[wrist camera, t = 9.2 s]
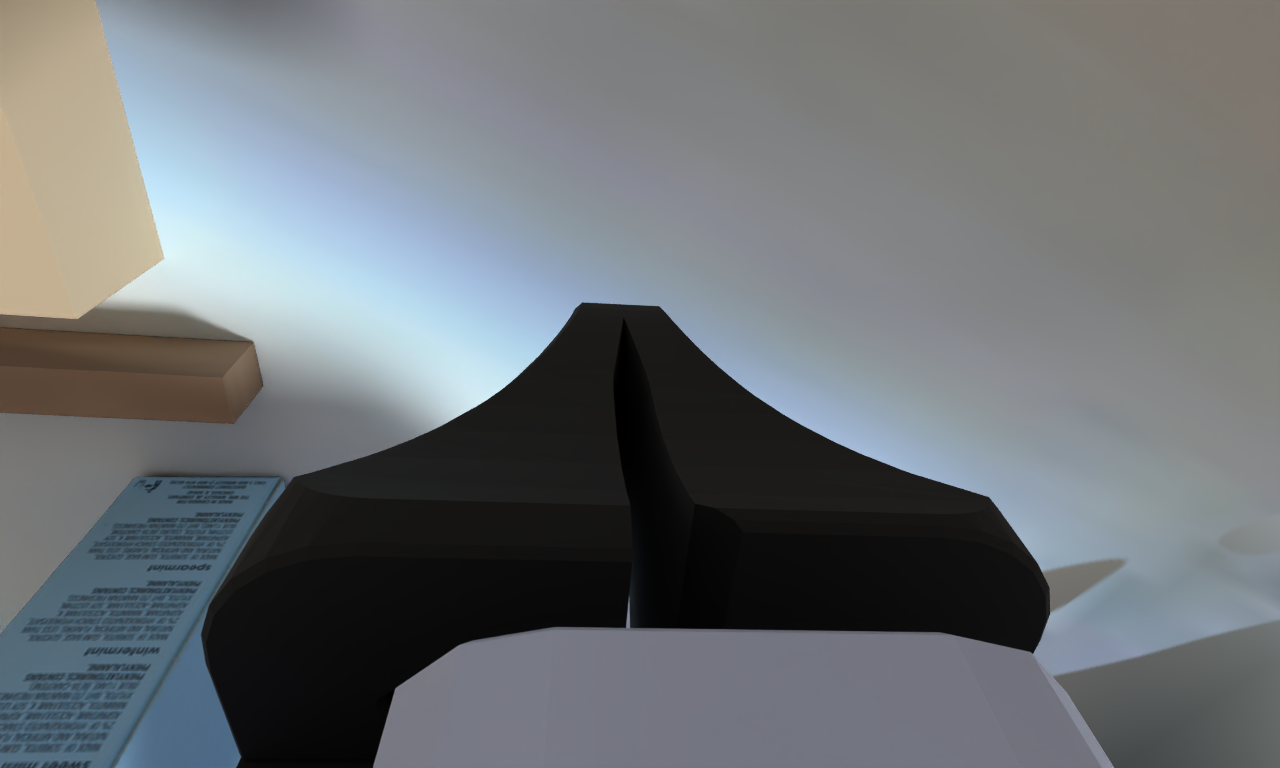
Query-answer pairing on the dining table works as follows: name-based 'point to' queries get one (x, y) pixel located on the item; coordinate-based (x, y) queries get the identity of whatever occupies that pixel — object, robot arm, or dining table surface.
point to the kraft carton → (65, 165)
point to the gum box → (130, 633)
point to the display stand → (126, 376)
